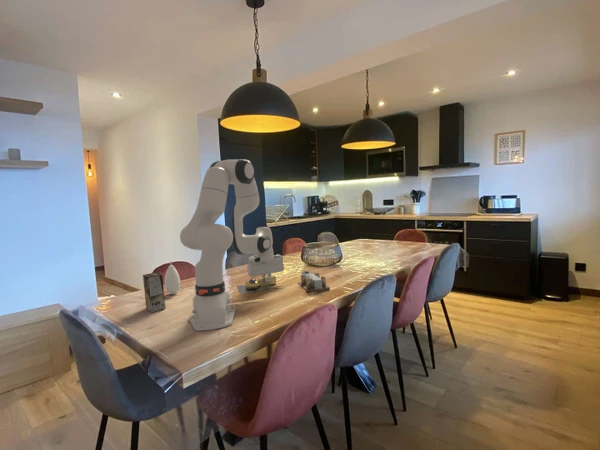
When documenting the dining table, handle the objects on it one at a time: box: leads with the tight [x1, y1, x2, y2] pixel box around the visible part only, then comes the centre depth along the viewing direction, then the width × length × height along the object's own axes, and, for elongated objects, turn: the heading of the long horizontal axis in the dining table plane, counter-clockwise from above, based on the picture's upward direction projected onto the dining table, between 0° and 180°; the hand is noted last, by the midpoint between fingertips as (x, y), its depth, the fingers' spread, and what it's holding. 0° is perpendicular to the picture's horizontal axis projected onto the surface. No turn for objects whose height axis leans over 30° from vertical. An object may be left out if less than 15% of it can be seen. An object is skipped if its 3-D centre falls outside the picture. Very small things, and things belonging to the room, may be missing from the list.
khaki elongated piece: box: [244, 275, 277, 289], centre depth 175 cm, size 17×8×4 cm, turn 118°
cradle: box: [297, 272, 331, 294], centre depth 170 cm, size 16×12×6 cm
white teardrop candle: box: [164, 260, 181, 295], centre depth 172 cm, size 8×8×18 cm
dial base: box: [236, 284, 275, 295], centre depth 173 cm, size 16×18×1 cm
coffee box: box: [142, 272, 166, 313], centre depth 149 cm, size 9×6×16 cm
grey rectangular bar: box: [301, 270, 322, 289], centre depth 172 cm, size 21×6×5 cm, turn 17°
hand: (266, 282), depth 174 cm, fingers closed, pressing on khaki elongated piece
